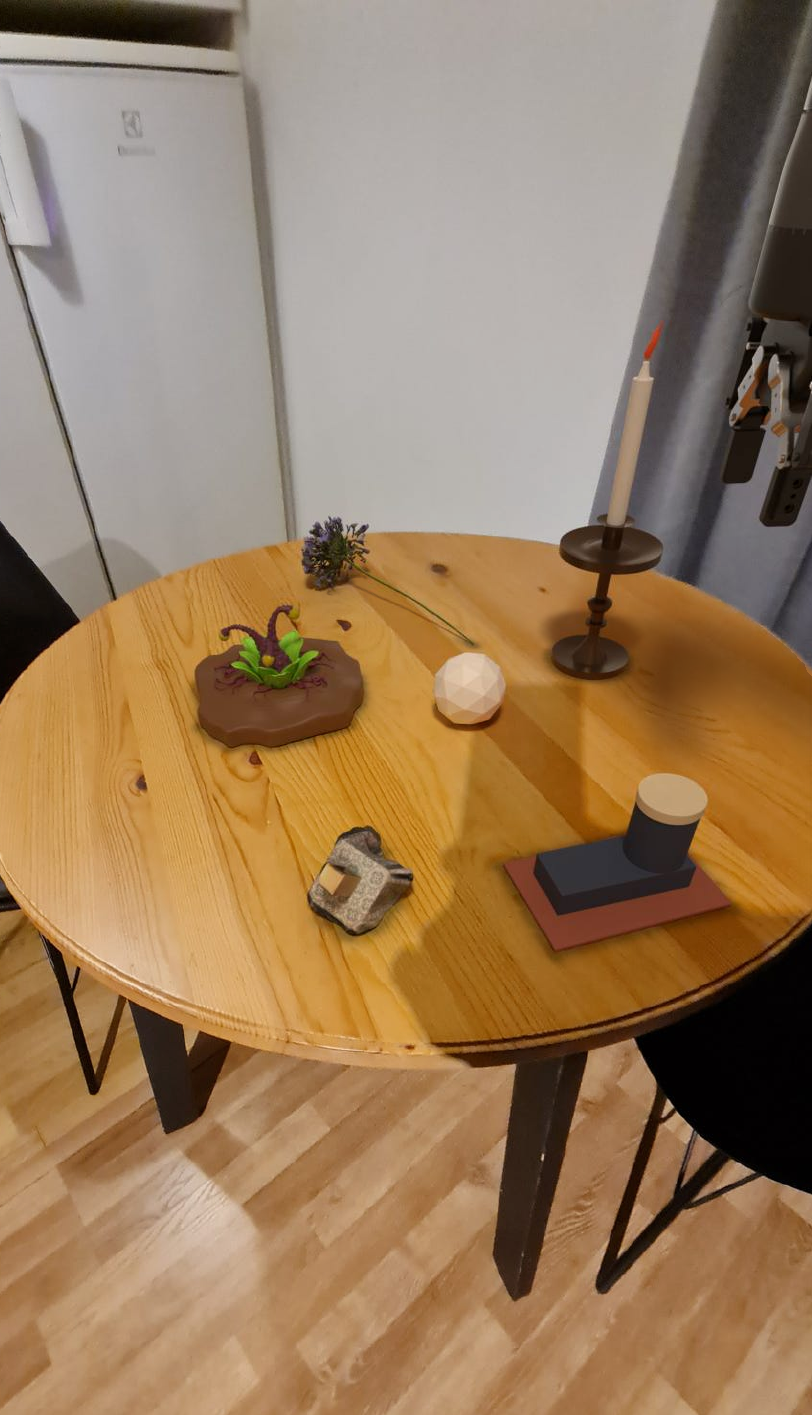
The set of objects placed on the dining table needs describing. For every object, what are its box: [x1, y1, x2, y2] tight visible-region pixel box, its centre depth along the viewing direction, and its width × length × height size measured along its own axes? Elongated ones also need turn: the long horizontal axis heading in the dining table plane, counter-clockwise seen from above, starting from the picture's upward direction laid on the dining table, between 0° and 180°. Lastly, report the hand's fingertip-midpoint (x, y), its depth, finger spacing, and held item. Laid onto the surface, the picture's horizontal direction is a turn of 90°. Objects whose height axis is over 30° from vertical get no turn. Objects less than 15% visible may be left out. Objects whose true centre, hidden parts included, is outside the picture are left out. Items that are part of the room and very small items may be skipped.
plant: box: [194, 604, 364, 748], centre depth 85 cm, size 20×20×11 cm
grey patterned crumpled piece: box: [306, 824, 415, 935], centre depth 64 cm, size 8×7×12 cm
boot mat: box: [502, 833, 733, 953], centre depth 64 cm, size 16×10×1 cm, turn 106°
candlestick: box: [550, 321, 664, 681], centre depth 80 cm, size 11×11×35 cm
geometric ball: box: [432, 651, 507, 725], centre depth 81 cm, size 8×8×8 cm
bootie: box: [533, 772, 709, 916], centre depth 61 cm, size 12×5×9 cm, turn 103°
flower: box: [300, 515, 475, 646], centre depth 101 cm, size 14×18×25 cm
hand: (753, 502), depth 54 cm, fingers open, 8 cm apart
